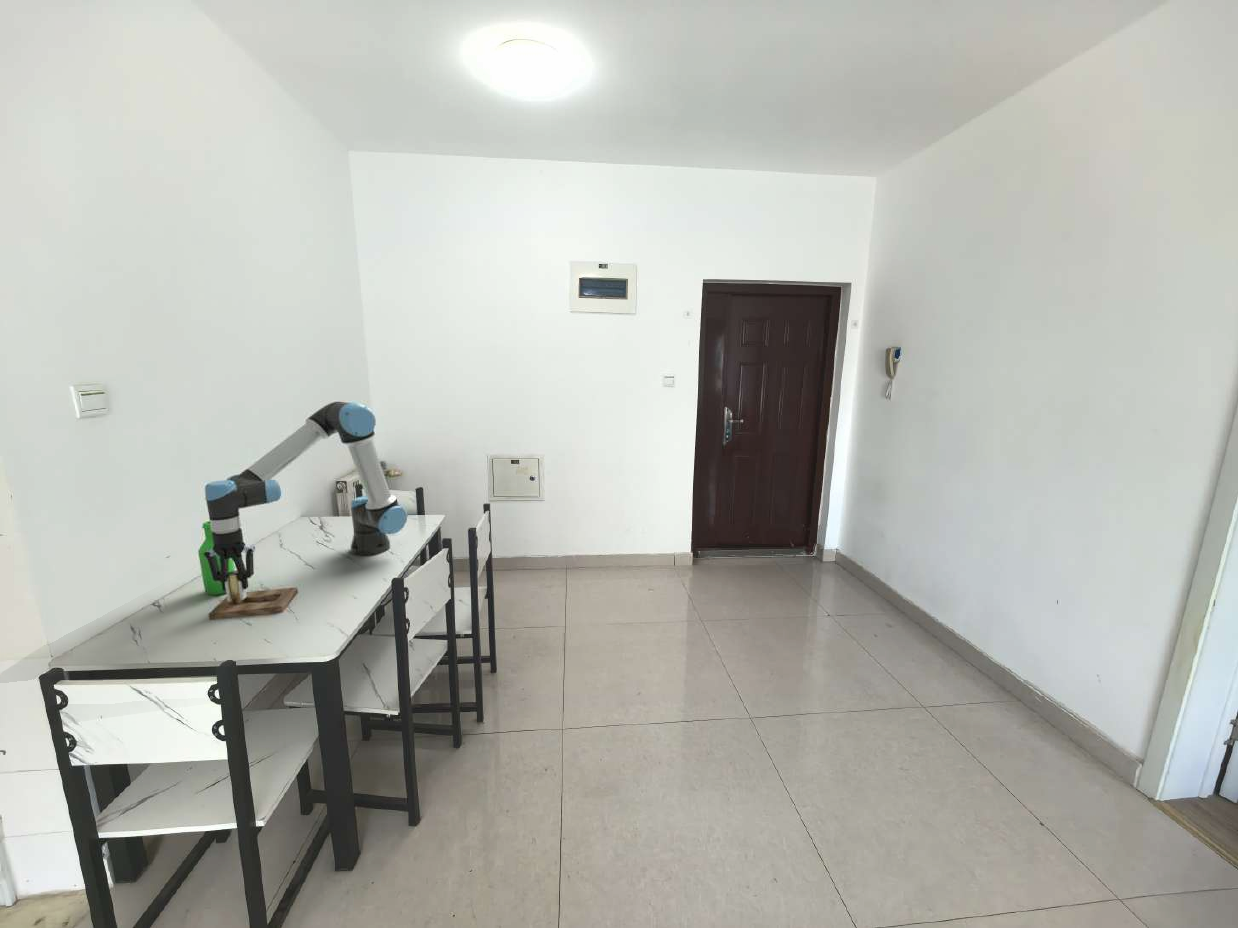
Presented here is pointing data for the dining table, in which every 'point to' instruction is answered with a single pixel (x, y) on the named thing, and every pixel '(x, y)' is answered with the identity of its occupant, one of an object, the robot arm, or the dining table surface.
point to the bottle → (209, 583)
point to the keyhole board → (255, 603)
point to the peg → (234, 587)
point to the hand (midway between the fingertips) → (237, 598)
